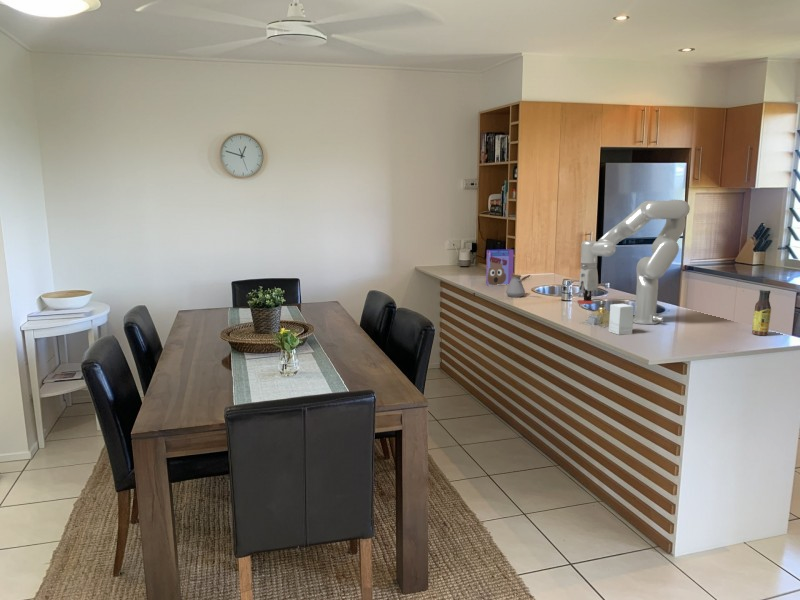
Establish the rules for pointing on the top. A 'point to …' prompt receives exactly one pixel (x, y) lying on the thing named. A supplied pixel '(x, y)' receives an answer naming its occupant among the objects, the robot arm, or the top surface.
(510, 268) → the cereal box
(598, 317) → the valve
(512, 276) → the coffee pot
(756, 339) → the top surface
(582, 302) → the lever
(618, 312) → the supplement box
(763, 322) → the sauce bottle
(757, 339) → the top surface
